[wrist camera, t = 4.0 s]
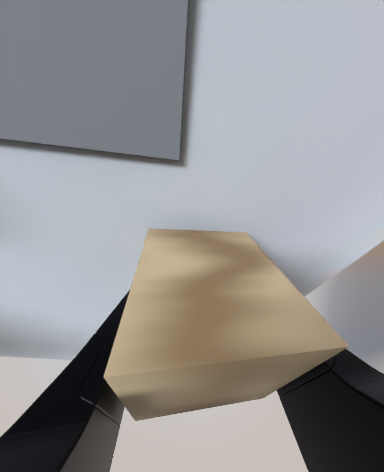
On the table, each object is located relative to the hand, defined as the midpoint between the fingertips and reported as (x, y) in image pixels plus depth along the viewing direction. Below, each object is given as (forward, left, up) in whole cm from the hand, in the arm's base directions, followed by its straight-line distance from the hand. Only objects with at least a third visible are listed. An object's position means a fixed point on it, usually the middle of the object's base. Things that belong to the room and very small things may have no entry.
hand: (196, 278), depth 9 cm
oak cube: (0, 0, -1) cm, 1 cm away
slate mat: (+9, -14, -2) cm, 17 cm away
